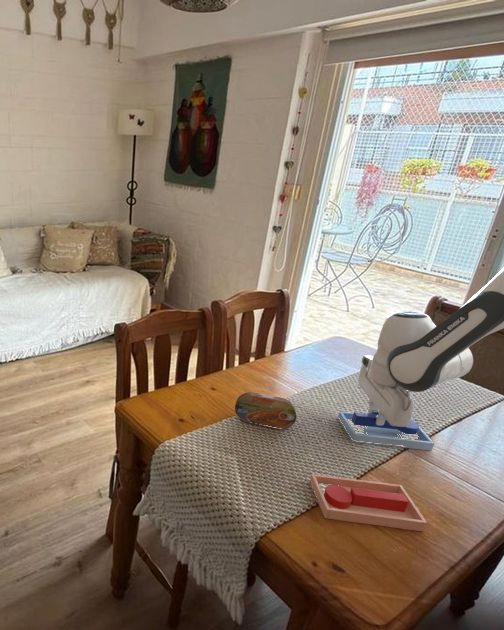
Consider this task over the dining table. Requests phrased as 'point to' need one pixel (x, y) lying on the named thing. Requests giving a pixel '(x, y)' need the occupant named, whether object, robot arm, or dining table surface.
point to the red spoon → (364, 498)
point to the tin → (265, 410)
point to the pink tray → (366, 514)
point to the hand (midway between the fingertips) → (375, 419)
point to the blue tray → (385, 435)
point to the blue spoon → (368, 420)
